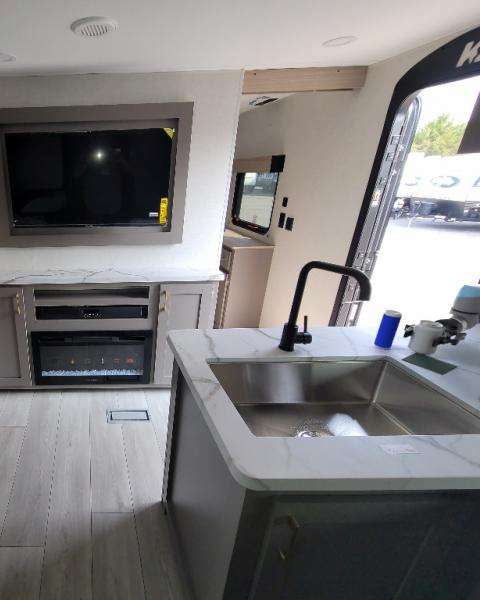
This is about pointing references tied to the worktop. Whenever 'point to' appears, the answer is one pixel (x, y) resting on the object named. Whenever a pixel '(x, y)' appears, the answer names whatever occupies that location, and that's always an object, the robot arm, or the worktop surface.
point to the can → (425, 337)
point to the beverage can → (387, 329)
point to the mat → (429, 363)
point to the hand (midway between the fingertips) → (419, 338)
